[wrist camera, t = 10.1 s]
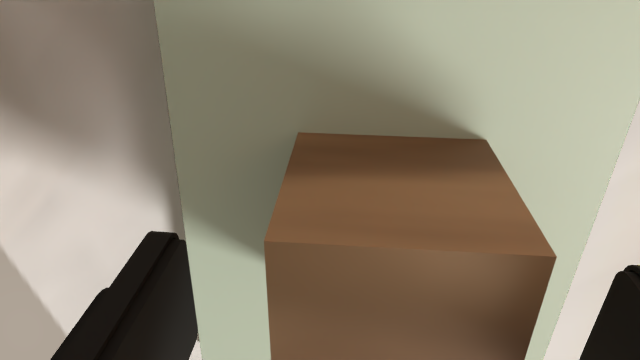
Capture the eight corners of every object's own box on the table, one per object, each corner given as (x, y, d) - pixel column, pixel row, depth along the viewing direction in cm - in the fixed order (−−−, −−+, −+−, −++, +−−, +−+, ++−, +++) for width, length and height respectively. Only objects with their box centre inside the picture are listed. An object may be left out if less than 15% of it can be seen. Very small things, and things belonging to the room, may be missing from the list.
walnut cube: (298, 132, 12) (264, 240, 8) (486, 139, 12) (557, 257, 8) (300, 276, 15) (274, 421, 10) (457, 285, 15) (499, 438, 10)
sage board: (158, -61, 11) (145, -60, 11) (669, -43, 11) (691, -42, 10) (208, 346, 18) (202, 363, 17) (524, 372, 17) (531, 391, 17)
